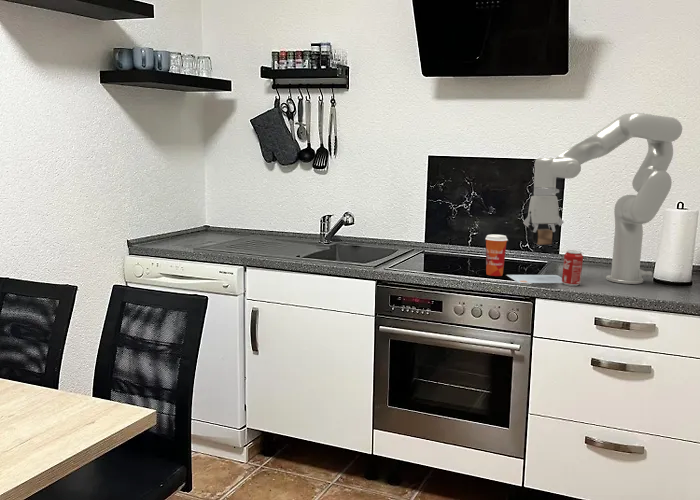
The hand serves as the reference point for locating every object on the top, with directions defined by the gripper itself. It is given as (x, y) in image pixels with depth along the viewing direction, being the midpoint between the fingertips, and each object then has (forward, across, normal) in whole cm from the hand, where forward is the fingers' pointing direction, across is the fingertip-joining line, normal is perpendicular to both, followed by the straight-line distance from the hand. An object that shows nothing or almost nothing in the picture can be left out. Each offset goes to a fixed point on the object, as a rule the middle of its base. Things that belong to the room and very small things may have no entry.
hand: (542, 242), depth 252 cm
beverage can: (+14, -7, +10) cm, 19 cm away
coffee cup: (+14, +15, -8) cm, 22 cm away
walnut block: (+1, 0, 0) cm, 1 cm away
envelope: (+14, +1, 0) cm, 14 cm away
